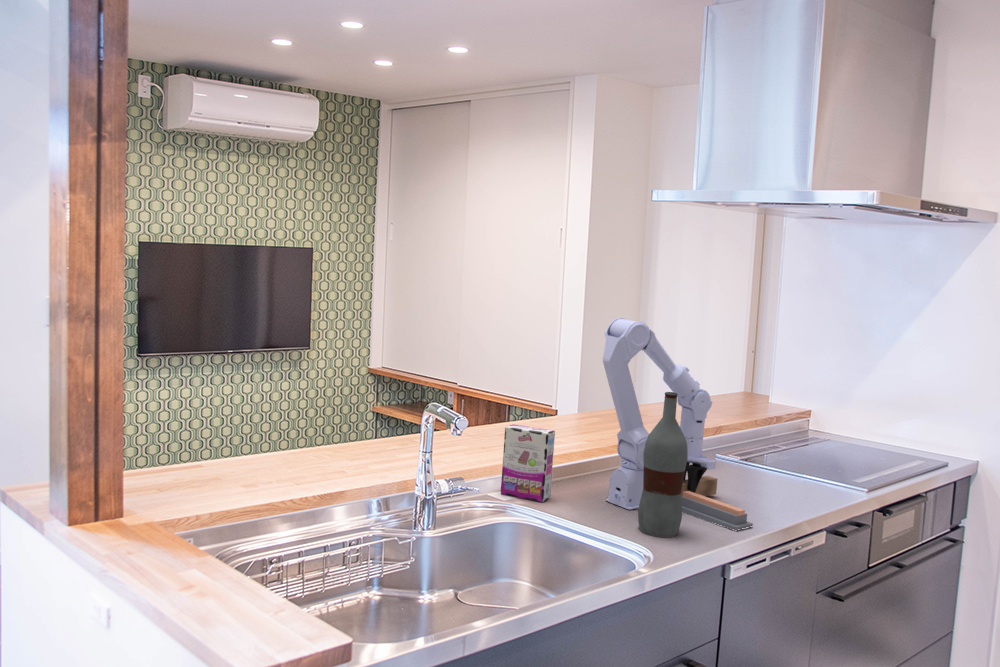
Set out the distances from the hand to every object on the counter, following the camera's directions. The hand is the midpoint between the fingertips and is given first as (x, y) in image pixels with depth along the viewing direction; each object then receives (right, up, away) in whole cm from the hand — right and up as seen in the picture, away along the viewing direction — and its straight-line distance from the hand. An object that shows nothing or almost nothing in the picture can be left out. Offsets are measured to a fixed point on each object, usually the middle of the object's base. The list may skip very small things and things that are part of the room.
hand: (685, 491), depth 201 cm
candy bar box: (-39, 0, -6) cm, 40 cm away
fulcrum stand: (+3, -4, -12) cm, 13 cm away
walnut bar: (0, -2, 0) cm, 2 cm away
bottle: (-11, -4, -25) cm, 27 cm away
